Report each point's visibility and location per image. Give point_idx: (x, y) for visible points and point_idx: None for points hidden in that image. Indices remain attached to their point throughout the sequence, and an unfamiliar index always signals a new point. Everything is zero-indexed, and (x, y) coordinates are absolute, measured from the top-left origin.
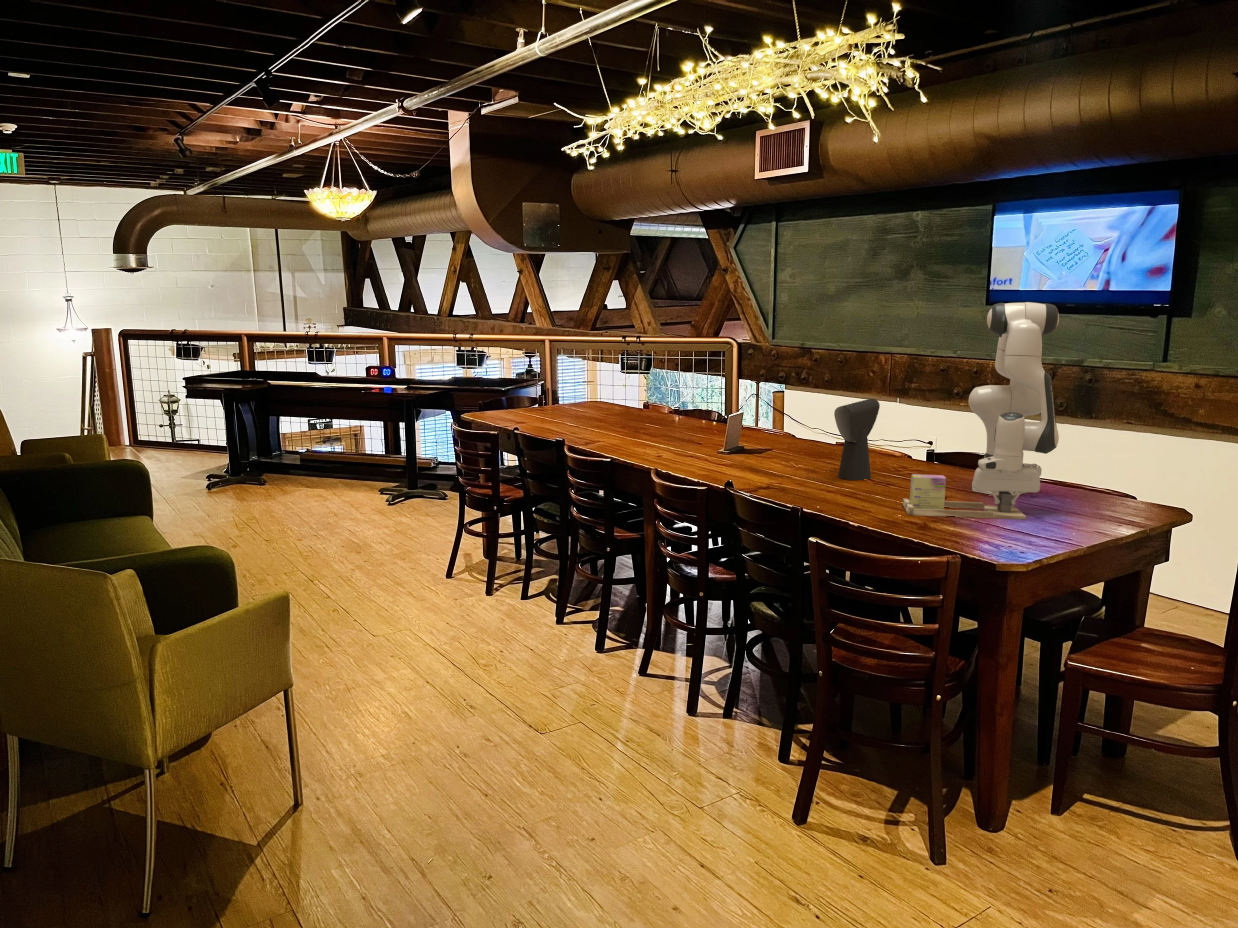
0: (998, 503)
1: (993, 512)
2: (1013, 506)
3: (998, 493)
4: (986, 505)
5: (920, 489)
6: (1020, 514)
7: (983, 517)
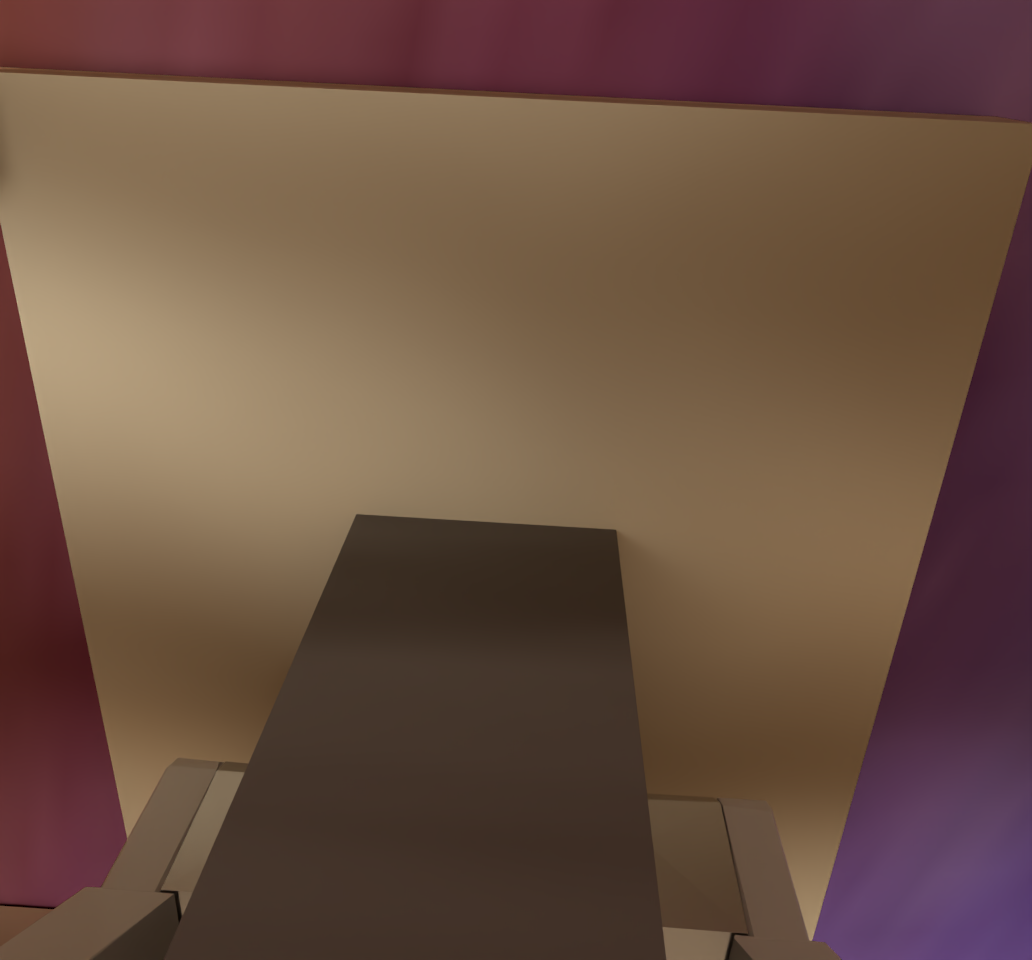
0: None
1: None
2: (996, 147)
3: (189, 904)
4: (85, 81)
5: None
6: None
7: None
